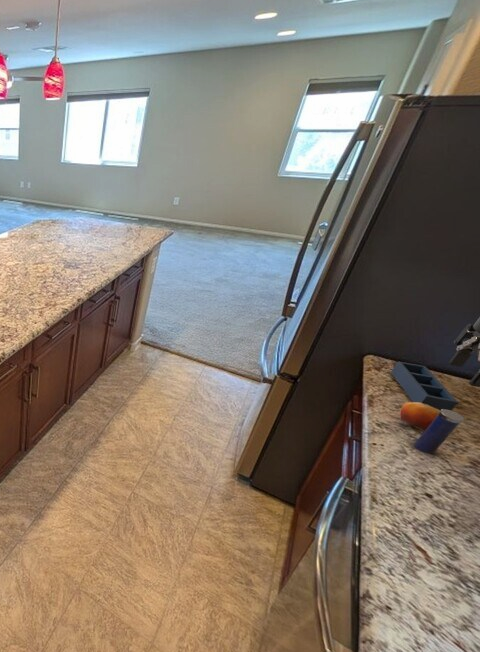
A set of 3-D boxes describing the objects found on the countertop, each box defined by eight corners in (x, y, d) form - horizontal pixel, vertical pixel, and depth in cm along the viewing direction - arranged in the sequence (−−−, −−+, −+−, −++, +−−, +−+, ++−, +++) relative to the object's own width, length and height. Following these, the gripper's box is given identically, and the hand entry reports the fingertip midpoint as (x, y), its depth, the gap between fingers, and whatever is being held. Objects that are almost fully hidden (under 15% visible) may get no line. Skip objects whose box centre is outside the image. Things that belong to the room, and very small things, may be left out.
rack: (417, 377, 124) (425, 366, 121) (448, 414, 110) (458, 402, 107) (390, 372, 126) (397, 361, 124) (417, 407, 112) (426, 396, 110)
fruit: (396, 423, 105) (411, 398, 104) (390, 422, 111) (405, 397, 110) (439, 440, 100) (455, 413, 99) (431, 437, 106) (446, 412, 105)
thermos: (429, 445, 100) (458, 411, 94) (437, 456, 97) (467, 422, 91) (410, 441, 102) (437, 407, 96) (417, 451, 99) (445, 417, 93)
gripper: (563, 336, 76) (507, 398, 84) (515, 304, 87) (469, 362, 95) (508, 328, 79) (459, 389, 87) (468, 299, 90) (428, 355, 98)
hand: (464, 375), depth 91 cm, fingers open, 8 cm apart
